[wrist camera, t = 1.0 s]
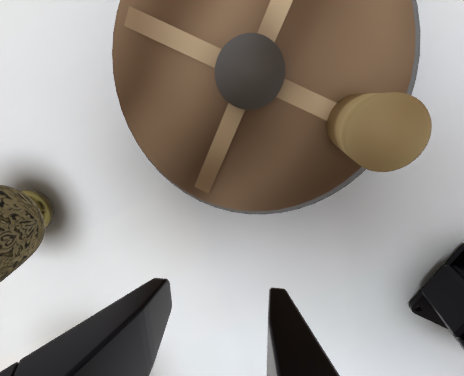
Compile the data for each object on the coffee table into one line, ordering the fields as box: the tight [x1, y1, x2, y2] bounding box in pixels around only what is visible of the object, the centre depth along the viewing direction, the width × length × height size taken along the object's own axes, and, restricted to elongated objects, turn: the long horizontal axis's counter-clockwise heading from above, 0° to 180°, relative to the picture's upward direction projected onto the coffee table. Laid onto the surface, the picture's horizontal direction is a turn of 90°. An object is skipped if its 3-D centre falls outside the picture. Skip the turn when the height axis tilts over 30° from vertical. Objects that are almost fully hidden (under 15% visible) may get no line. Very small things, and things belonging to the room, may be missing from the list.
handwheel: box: [112, 0, 431, 211], centre depth 13 cm, size 16×16×6 cm
